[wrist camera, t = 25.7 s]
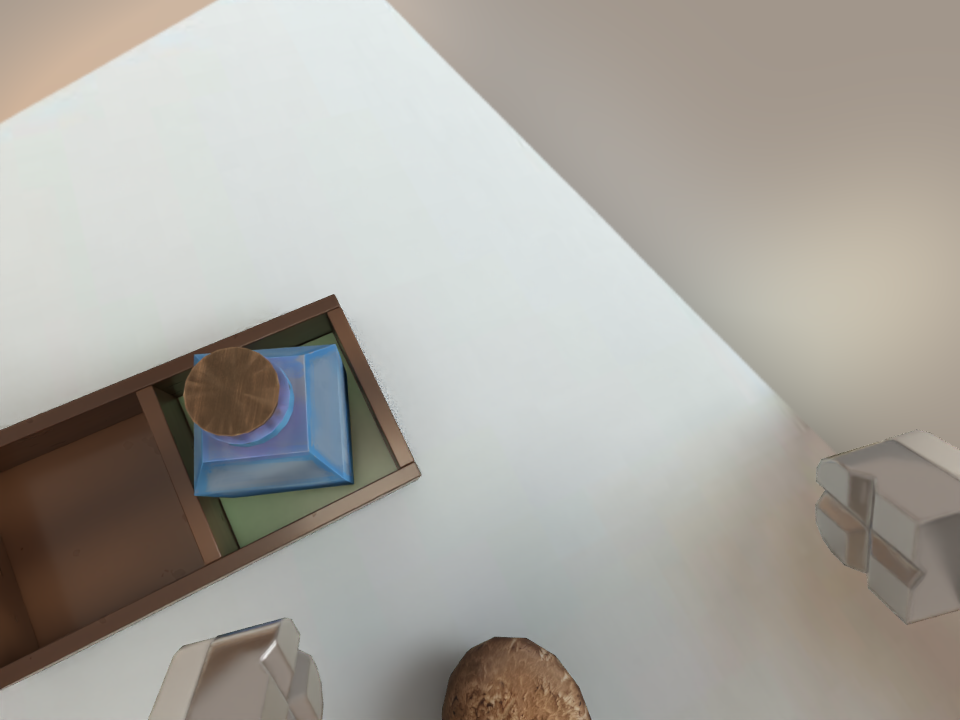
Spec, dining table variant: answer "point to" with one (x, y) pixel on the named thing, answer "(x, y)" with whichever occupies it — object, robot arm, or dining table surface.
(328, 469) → the perfume bottle
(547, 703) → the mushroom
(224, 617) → the dining table surface
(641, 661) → the dining table surface
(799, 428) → the dining table surface
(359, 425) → the wooden compartment tray
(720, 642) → the dining table surface
